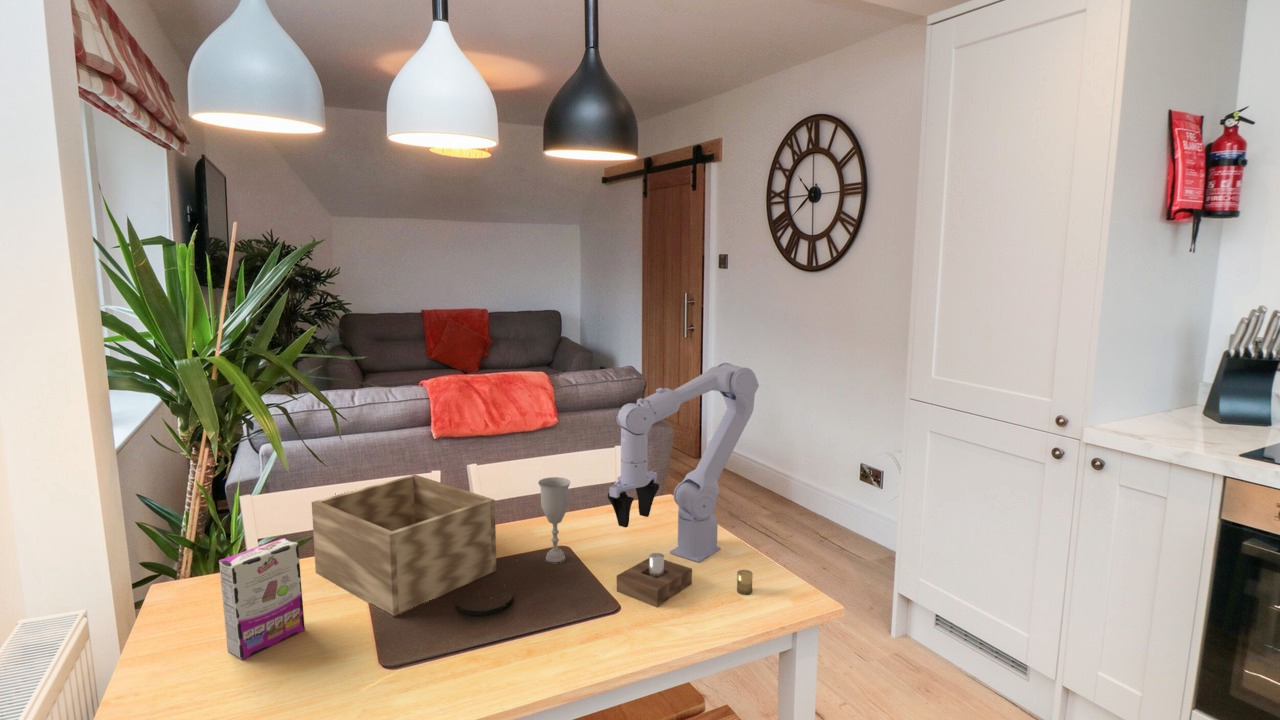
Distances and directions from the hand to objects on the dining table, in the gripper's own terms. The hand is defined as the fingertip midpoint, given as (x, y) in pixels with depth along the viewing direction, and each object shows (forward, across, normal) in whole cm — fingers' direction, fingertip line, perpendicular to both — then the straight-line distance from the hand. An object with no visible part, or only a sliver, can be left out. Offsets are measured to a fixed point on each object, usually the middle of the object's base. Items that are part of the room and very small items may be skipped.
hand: (633, 520), depth 145 cm
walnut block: (+10, +7, +10) cm, 16 cm away
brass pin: (+10, -3, +25) cm, 27 cm away
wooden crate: (+10, +33, -35) cm, 49 cm away
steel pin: (+10, +7, +11) cm, 16 cm away
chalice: (+10, +9, -15) cm, 20 cm away
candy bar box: (+10, +63, -32) cm, 71 cm away
